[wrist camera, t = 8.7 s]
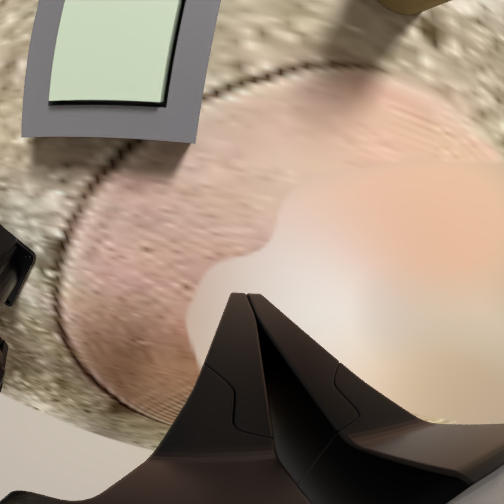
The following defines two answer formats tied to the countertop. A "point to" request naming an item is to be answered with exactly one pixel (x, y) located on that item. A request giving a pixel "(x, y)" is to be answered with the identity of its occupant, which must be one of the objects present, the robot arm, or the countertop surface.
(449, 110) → the countertop surface
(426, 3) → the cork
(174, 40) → the sage key
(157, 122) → the key panel
